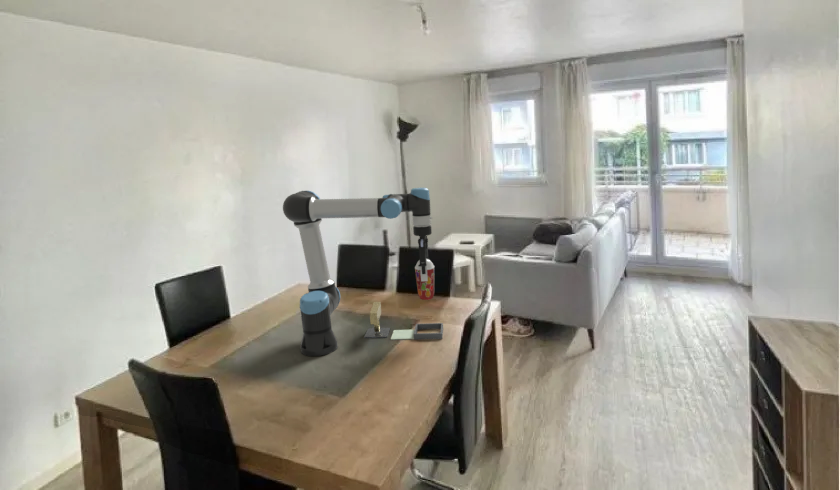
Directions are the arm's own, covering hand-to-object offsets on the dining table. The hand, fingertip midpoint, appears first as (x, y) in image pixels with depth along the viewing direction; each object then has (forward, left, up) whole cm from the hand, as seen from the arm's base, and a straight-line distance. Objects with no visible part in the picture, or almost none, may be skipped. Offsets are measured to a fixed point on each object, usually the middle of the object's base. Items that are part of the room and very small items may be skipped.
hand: (425, 278), depth 210 cm
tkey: (-23, +2, -24) cm, 33 cm away
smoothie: (0, 0, -9) cm, 9 cm away
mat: (-11, -1, -25) cm, 27 cm away
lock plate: (-23, +2, -25) cm, 34 cm away
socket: (0, 0, -25) cm, 25 cm away
